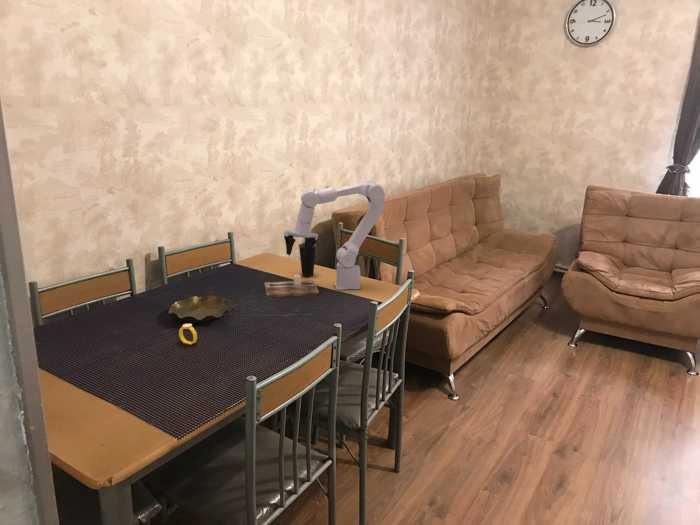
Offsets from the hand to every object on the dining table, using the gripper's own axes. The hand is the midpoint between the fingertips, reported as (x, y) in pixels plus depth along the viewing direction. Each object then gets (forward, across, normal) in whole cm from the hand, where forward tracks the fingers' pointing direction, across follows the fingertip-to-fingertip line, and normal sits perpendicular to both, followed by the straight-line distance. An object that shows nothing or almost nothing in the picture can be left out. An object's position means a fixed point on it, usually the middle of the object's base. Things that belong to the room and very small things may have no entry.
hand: (296, 255), depth 215 cm
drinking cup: (+12, -16, -12) cm, 24 cm away
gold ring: (+23, +50, +29) cm, 62 cm away
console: (+14, -1, 0) cm, 14 cm away
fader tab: (+13, -3, +1) cm, 13 cm away
